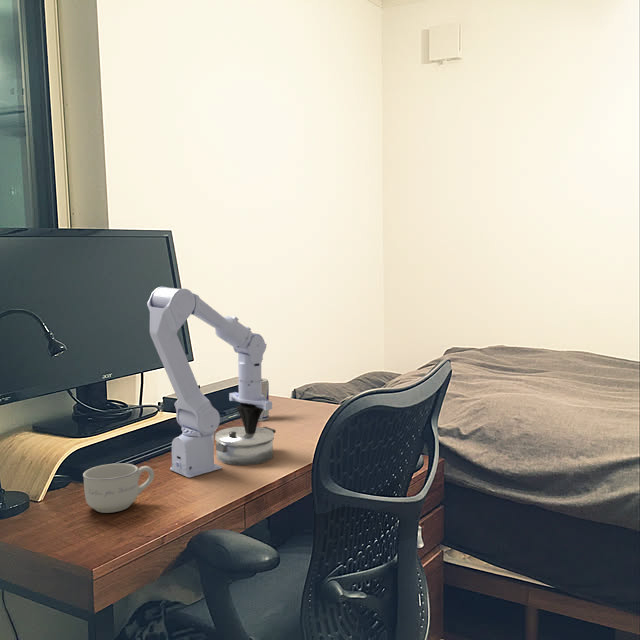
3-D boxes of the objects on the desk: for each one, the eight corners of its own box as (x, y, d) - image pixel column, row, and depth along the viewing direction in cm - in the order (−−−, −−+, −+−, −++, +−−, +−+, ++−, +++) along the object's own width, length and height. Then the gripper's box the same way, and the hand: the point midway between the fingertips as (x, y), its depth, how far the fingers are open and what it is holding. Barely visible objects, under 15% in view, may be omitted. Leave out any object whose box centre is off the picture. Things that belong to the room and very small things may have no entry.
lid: (240, 450, 164) (239, 441, 164) (203, 437, 175) (203, 429, 174) (289, 437, 175) (289, 428, 175) (252, 426, 186) (252, 418, 185)
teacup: (82, 520, 135) (81, 480, 134) (85, 500, 145) (83, 463, 144) (156, 513, 139) (155, 474, 138) (153, 494, 149) (152, 457, 148)
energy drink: (270, 417, 213) (270, 378, 212) (267, 421, 208) (266, 382, 207) (252, 416, 214) (252, 378, 212) (249, 421, 209) (249, 381, 207)
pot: (237, 470, 165) (237, 451, 164) (202, 456, 175) (202, 439, 174) (284, 456, 175) (284, 439, 175) (248, 444, 185) (248, 428, 184)
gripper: (281, 382, 172) (281, 435, 174) (244, 373, 182) (244, 424, 184) (259, 386, 167) (259, 441, 169) (222, 377, 177) (223, 429, 179)
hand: (250, 433), depth 176 cm, fingers closed, pressing on lid
